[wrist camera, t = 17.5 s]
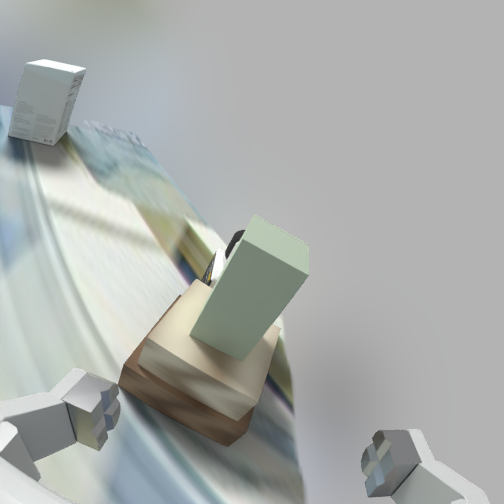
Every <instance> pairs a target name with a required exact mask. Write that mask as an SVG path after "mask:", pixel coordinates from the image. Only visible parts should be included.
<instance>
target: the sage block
mask: <svg viewBox="0 0 504 504" xmlns="http://www.w3.org/2000/svg"><path fill="white" fill-rule="evenodd" d="M308 276H309V246H308V244H306V243H305V242H303V241H301V240H299V239H298V238H296V237H294V236H292V235H290V234H289V233H287V232H285V231H284V230H282V229H280V228H278V227H276V226H275V225H273V224H271V223H269V222H267V221H266V220H264V219H262V218H260V217H259V216H257V215H254V216H253V218H252V220H251V221H250V223H249V225H248V227H247V228H246V230H245V232H244V234H243V235H242V237H241V239H240V241H239V243H238V244H237V246H236V248H235V250H234V251H233V253H232V255H231V257H230V259H229V260H228V262H227V264H226V266H225V268H224V269H223V271H222V273H221V275H220V277H219V278H218V280H217V282H216V284H215V286H214V287H213V289H212V291H211V293H210V295H209V296H208V298H207V300H206V302H205V304H204V306H203V308H202V310H201V312H200V314H199V316H198V318H197V320H196V322H195V324H194V326H193V328H192V330H191V332H190V334H189V335H190V336H192V337H194V338H196V339H198V340H200V341H202V342H204V343H205V344H207V345H209V346H211V347H213V348H215V349H217V350H219V351H221V352H223V353H225V354H227V355H229V356H231V357H233V358H236V359H238V360H240V361H242V362H243V360H244V359H245V358H246V357H247V355H248V354H249V353H250V352H251V350H252V349H253V348H254V347H255V345H256V344H257V343H258V342H259V340H260V339H261V338H262V337H263V335H264V334H265V333H266V331H267V330H268V329H269V328H270V326H271V325H272V324H273V322H274V321H275V320H276V319H277V317H278V316H279V315H280V313H281V312H282V311H283V309H284V308H285V307H286V305H287V304H288V303H289V302H290V300H291V299H292V298H293V296H294V295H295V293H296V292H297V291H298V290H299V288H300V287H301V285H302V284H303V283H304V281H305V280H306V279H307V277H308Z"/></svg>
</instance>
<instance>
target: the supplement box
mask: <svg viewBox="0 0 504 504" xmlns="http://www.w3.org/2000/svg"><path fill="white" fill-rule="evenodd" d="M85 72H86V68H82V67H77V66H73V65H68V64H63V63H59V62H53V61H49V60H39V61H34V62H29V63H26V65H25V68H24V72H23V75H22V78H21V82H20V85H19V89H18V93H17V97H16V101H15V105H14V109H13V114H12V118H11V123H10V128H9V133H8V136H11V137H15V138H20V139H25V140H29V141H34V142H38V143H42V144H47V145H51V146H54V145H55V144H56V143H57V141H58V140H59V139H60V138H61V137H62V136H63V135H64V133H65V132H66V131H67V127H68V124H69V120H70V117H71V113H72V110H73V107H74V104H75V101H76V97H77V95H78V91H79V88H80V86H81V83H82V80H83V77H84V74H85Z"/></svg>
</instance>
